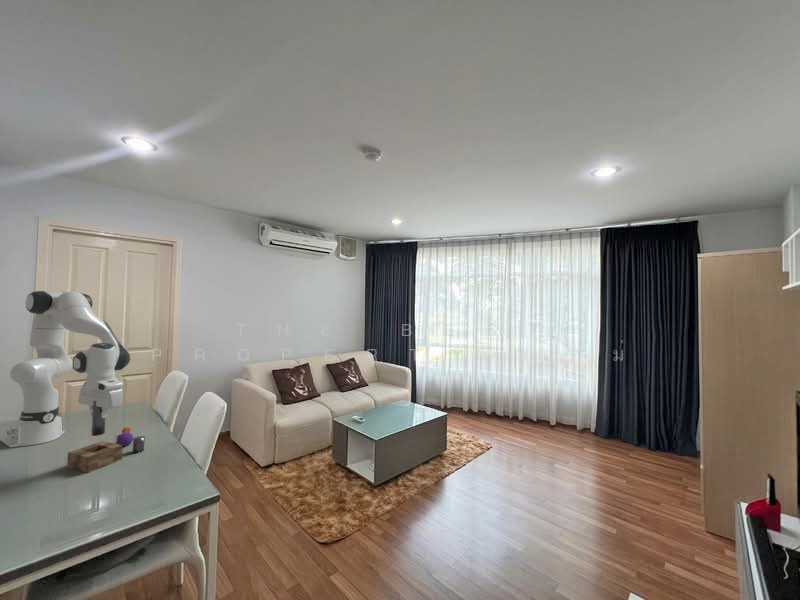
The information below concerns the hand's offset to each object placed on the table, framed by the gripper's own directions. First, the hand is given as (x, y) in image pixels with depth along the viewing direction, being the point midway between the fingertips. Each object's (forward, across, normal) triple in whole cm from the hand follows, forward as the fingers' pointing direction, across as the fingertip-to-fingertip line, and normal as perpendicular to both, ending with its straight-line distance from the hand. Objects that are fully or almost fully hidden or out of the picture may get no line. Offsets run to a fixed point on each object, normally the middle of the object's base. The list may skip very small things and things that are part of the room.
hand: (98, 416), depth 134 cm
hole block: (+19, 0, 0) cm, 19 cm away
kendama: (+20, -14, +20) cm, 31 cm away
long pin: (+7, 0, 0) cm, 7 cm away
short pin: (+19, +4, +14) cm, 24 cm away
